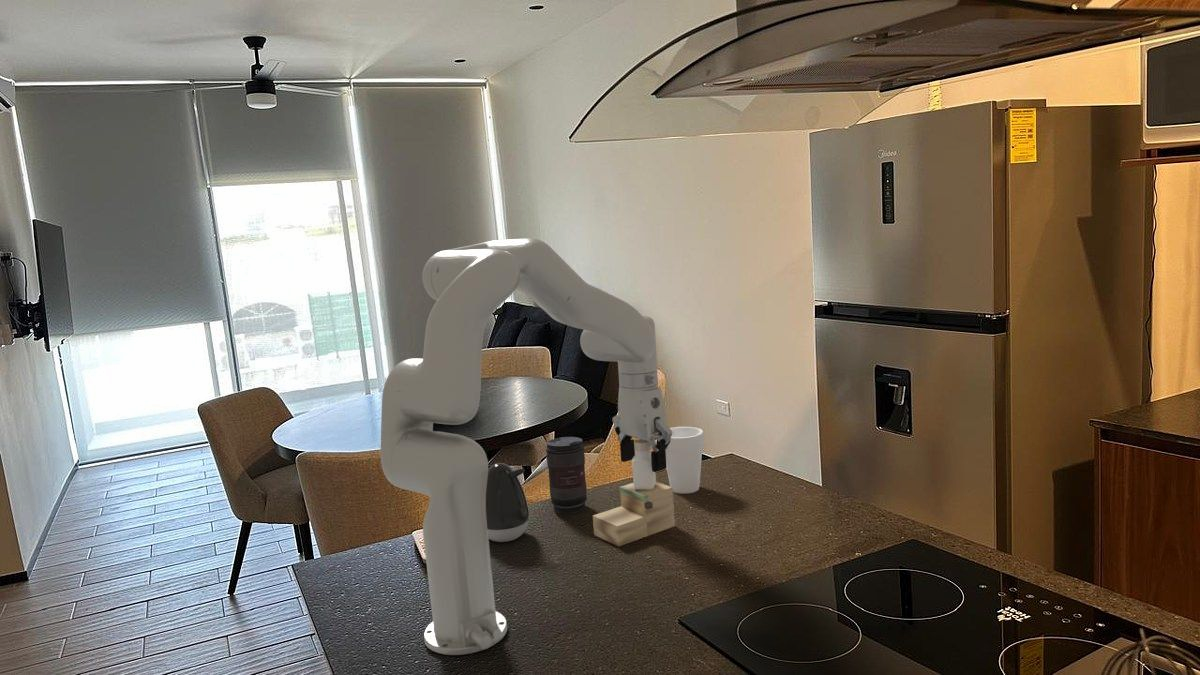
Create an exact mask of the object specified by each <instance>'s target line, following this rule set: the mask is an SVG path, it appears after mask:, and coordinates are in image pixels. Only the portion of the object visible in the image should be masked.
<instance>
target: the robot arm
mask: <svg viewBox="0 0 1200 675" xmlns="http://www.w3.org/2000/svg"><path fill="white" fill-rule="evenodd" d="M421 277H422V278H421V280H422V285H423V288H424V290H425V291H426V293H427V294H428V295H429V297H430V298H432V299H433V300H435V303H434V304H433V306H432V308H431V310H430V312H429V315H428V318H427V320H426V326H425V333H424V343H423V354H422V357H421V358H420V357H419V358H416V357H413V358H408V359H407V358H406V359H404V360H402V361H399V363H397V364H396V365H395V366H394V367H393V368H392V369H391V371H389V373H388V375H387V377H386V380H385V382H384V384H383V385H384V386H383V389H382V396H381V398H382V399H381V421H380V422H381V423H380V465H381V469H382V472H383V474H384V477H385V478H386V480H387V481H388V482H389V483H390V484H392V485H393V486H394V487H396V488H399V489H402V490H406V491H410V492H414V493H419V494H423V495H425V496H428V497H429V503H428V507H427V509H426V512H425V514H424V519H423V521H422V522H423V524H422V537H423V544H424V553H425V561H426V571H427V580H428V587H429V588H428V589H429V597H430V598H429V599H430V600H429V601H430V606H431V615H432V616H431V617H432V622H430V623H429V624H428V625H427V627H425V628H426V629H425V630H424V632H423V638H424V640H423V641H424V644H425V646H426V647H427V648H428V649H429V650H430V651H432V652H434V653H438V654H440V655H441V654H442V655H445V656H446V655H447V656H463V655H464V656H465V655H470V654H473V653H478V652H481V651H484V650H487V649H489V648H491V647H492V646H495V645H496V644H497V643H499V642H500V641H501V640H502V639H503V638H504V637H505V635H506V634H507V631H508V623H507V619H506V617H505V616H504V615H503V614H502V613H501V612H499V611H497V610H496V602H495V592H494V583H493V582H494V581H493V571H492V562H491V552H490V551H491V550H490V541H489V540H490V539H489V538H488V531H487V519H486V487H487V478H488V469H489V460H488V457H487V454H486V452H485V450H484V448H483V447H482V446H481V445H480V444H479V443H478V442H476V441H475V440H474V439H472V438H470V437H468V436H465V435H461V434H457V433H451V432H445V431H439V430H438V431H434V429H433V428H434V424H442V425H450V426H451V425H452V426H453V425H457V426H458V425H463V424H466V423H468V422H469V421H472V420H473V418H475V416H476V414H477V412H478V411H479V406H480V401H481V386H482V358H483V357H482V355H483V342H484V341H483V340H484V333H485V328H486V326H487V323H488V321H489V320H490V318H491V317H492V316H493V313H494V312H495V311H496V310H497V309H498V307H500V306H501V305H502V304H503V303H504V302H505V301H506V300H507V299H509V297H511V296H512V294H513V293H515V290H518V291H520V292H523V293H524V294H525V295H526V296H527V297H528V298H529V299H531V300H532V302H534V303H535V304H536V305H537V306H539V307H540V308H541V309H542V310H543V311H544V312H545V313H546V314H547V315H548V316H549V317H550V318H552V320H554V321H556V322H558V323H560V324H562V325H563V324H564V325H566V326H569V327H572V328H574V329H580V330H582V332H581V334H580V337H579V338H580V339H579V340H580V341H579V343H580V348H581V350H582V352H583V353H584V354H585V356H586V357H588V358H590V359H592V360H595V361H602V362H617V367H618V368H617V369H618V370H617V371H618V383H619V385H618V386H619V387H618V398H617V400H618V401H617V414H616V415H614V416H613V417H612V420H611V421H612V423H613V426H614V431H615V434H616V435H617V441H618V442H619V446H620V447H619V449H620V461H621V462H623V463H626V462H629V461H630V462H631V461H632V459H633V457H634V456H635V451H634V450H635V449H634V441H635V439H634V438H636V439H642V440H646V441H649V443H650V447H651V449H652V451H650V453H651V463H652V471H653V472H655V473H658V472H661V471H664V470H667V467H666V449H667V448H668V445H669V444H670V439H671V436H672V430H671V429H670V428H671V427H669V426H668V425H667V417H666V416H667V415H666V406H665V401H664V397H663V393H662V389H661V387H660V386H659V378H658V376H659V374H658V359H657V358H658V356H657V343H656V342H657V341H656V339H657V338H656V325H655V324H656V323H655V320H654V319H653V318H652V317H650V316H646V315H643V314H641V313H640V312H639V311H638V310H637V309H636V308H635V307H634V306H632V305H631V304H629V303H627V302H626V301H625V300H622V299H621V298H618V297H616V296H614V295H612V294H609V293H608V292H606V291H604V290H602V289H601V288H599V287H596V286H594V285H592V284H589V283H588V282H586V281H585V280H584V279H583V278H582V277H581V276H580V275H579V274H578V273H577V272H576V271H575V270H574V269H573V268H572V267H571V266H570V265H569V264H568V263H567V262H566V261H565V260H564V258H562V257H561V256H560V255H559V254H558V253H557V252H556V251H555V250H554V249H553V248H552V247H551V246H549V244H547V243H546V242H544V241H543V240H541V239H537V238H532V237H531V238H528V237H526V238H524V237H523V238H509V239H507V238H506V239H503V238H502V239H495V240H494V239H493V240H490V241H489V240H488V241H485V242H479V243H476V244H475V243H474V244H471V245H465V246H461V247H460V246H459V247H456V248H451V249H450V248H449V249H446V250H440V251H438V252H436V253H434V254H432V256H431V257H429V259H428V260H427V261H426V263H425V265H424V266H423V270H422V276H421ZM656 441H658V442H656Z"/></svg>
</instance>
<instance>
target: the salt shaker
mask: <svg viewBox="0 0 1200 675" xmlns="http://www.w3.org/2000/svg"><path fill="white" fill-rule="evenodd" d="M634 449H635V450H634V451H635V456H634V457H633V459H632V460H631V466H632V467H631V468H632V480H633V482H632V483H633V484H634V488H635V489H636V490H651V489H653V488H654V486H655V484H656V482H657V477H656V472H653V471H652V463H651V449H652V447H651V445H650V443H649V441H646V440H642V439H638V438H636V439H634Z"/></svg>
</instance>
